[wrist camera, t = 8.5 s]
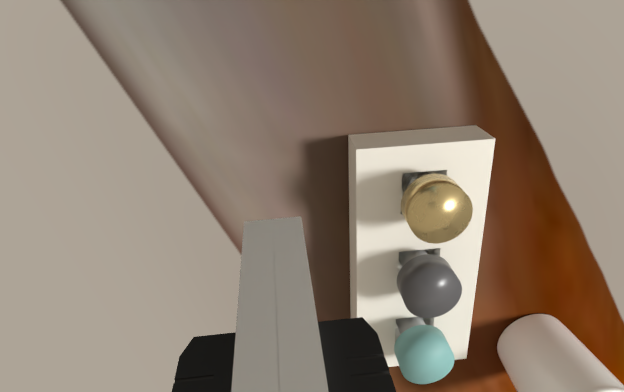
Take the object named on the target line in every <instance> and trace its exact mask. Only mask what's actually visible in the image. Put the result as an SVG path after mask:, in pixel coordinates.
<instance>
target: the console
mask: <svg viewBox="0 0 624 392" xmlns="http://www.w3.org/2000/svg"><path fill="white" fill-rule="evenodd" d="M494 145H495V138H493V137H492V136H491V135H489V134H488V133H486V132H485V131H483V130H482V129H481V128H479V127H478V126H476V125H473V126H459V127H446V128H432V129H419V130H406V131H392V132H379V133H366V134H352V135H348V156H349V235H350V314H351V318H359V317H363V318H364V320H365V321H366V322H367V323H368V324H369V325H370V326H371V327H372V328H373V329H374V330H375V331H376V332H377V333H378V337H379V340H380V343H381V346H382V349H383V352H384V358H385V359H386V362H387V365H388V367H393V366H399V364H398V361H397V358H396V355H395V352H394V345H395V342H396V340H397V338H398V337H399V336H400V335H401V334H400V332H399V329H398V327H397V324H396V319H400V318H409V317H417V316H415V315H413V314H412V313H411V312H409V310H408V309H407V308H406V306H405V304H404V301H403V299H402V297H401V294H400V292H399V290H398V287H397V276H398V273H399V271H400V269H401V268H402V266H401V264H400V262H399V252H403V251H414V250H425V251H426V252H427V254H433V255H437V256H440V257H442V258H444V259H445V260H446V261H447V262H448V263H449V265H450V266H451V268H452V270H453V271H454V273H455V274H456V276H457V277H458V279H459V280H460V282H461V286H462V294H461V297H460V299H459V301H458V303H457V304H456V305H455V307H454V308H453V309H451V310H450V311H449V312H447V313H445V314H443V315H441V316H438V317H434V318H423V320H424V322H425V324H426V325H431V326H434V327H437V328H438V329H440V330H441V331H442V333H443V334H444V336H445V338H446V340H447V342H448V344H449V346H450V348H451V350H452V352H453V354H454V358H455V359H454V360H457V359H466V358H467V351H468V343H469V335H470V328H471V320H472V313H473V305H474V297H475V290H476V282H477V275H478V267H479V259H480V252H481V244H482V237H483V229H484V221H485V214H486V206H487V199H488V191H489V183H490V176H491V168H492V160H493V153H494ZM425 171H427V172H428V173H429V174H443V175H446V176H448V177H450V178H451V179H453V180H454V181H455V182H456V183H457V184H458V185H459V186H460V188H461V189H462V190H463V191H464V192H465V193H466V194H467V195H468V196H469V198H470V200H471V202H472V207H473V213H472V218H471V221H470V223H469V225H468V226H467V228H466V229H465V230H464V231H463V232H462V233H461V234H460V235H459V236H457V237H456V238H454V239H452V240H450V241H447V242H444V243H437V244H434V243H427V242H424V241H422V240H420V239H419V238H417V237H416V236H415V235H414V233H413V232H412V230H411V229H410V227H409V225H408V223H407V222H406V220H405V218H404V216H403V215H402V212H401V199H402V196H403V194H404V191H403V189H402V177H403V175H404V174H405V173H412V172H425Z"/></svg>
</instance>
